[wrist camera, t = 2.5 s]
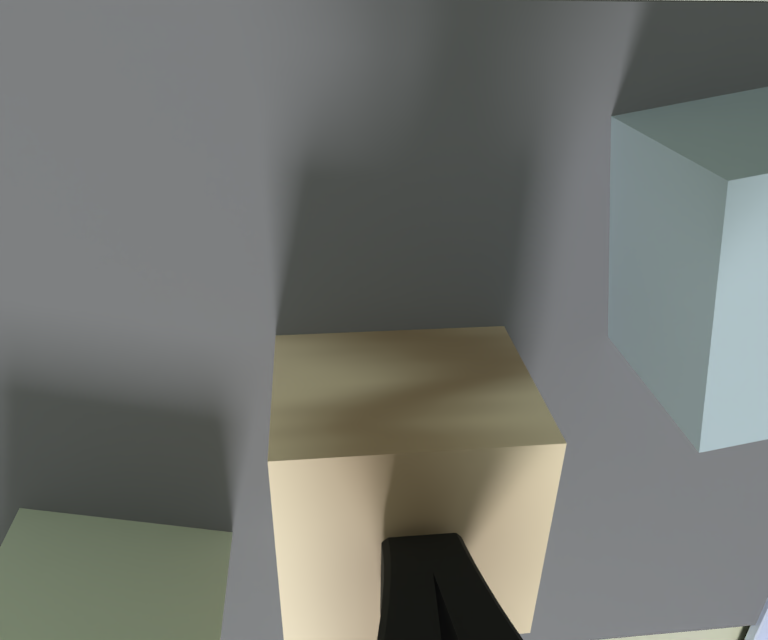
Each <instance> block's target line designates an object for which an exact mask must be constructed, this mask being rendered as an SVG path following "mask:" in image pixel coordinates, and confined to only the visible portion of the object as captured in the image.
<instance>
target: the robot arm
mask: <svg viewBox="0 0 768 640" xmlns="http://www.w3.org/2000/svg"><path fill="white" fill-rule="evenodd" d="M377 640H523V639H522V637H521V636H520V634H519V633H518V631H517V630H516V628H515V627H514V625H513V624H512V622H511V621H510V619H509V618H508V616H507V615H506V613H505V612H504V610H503V609H502V607H501V606H500V604H499V602H498V601H497V599H496V598H495V596H494V594H493V593H492V591H491V589H490V588H489V586H488V584H487V583H486V581H485V580H484V578H483V576H482V574H481V573H480V571H479V569H478V567H477V566H476V564H475V562H474V560H473V558H472V556H471V555H470V553H469V551H468V549H467V547H466V545H465V543H464V541H463V539H462V537H461V536H460V535H458V534H457V533H443V534H429V535H415V536H402V537H388V538H387V539H385V540H384V541H383V542H382V543H381V590H380V623H379V630H378V636H377ZM744 640H768V598H767V600H766V603H765V605H764V607H763V609H762V612H761V614H760V616H759V618H758V621H757V623H756V625H751V626H750V628H749V630H748V632H747V635H746V637H745V639H744Z"/></svg>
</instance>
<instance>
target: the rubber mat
mask: <svg viewBox="0 0 768 640" xmlns="http://www.w3.org/2000/svg"><path fill="white" fill-rule="evenodd" d="M763 87H768V2H764V1H762V2H761V1H760V2H759V1H755V2H754V1H666V0H665V1H663V0H0V546H1V544H2V542H3V540H4V538H5V536H6V534H7V532H8V530H9V528H10V526H11V524H12V522H13V520H14V518H15V516H16V514H17V512H18V510H19V508H24V509H33V510H42V511H51V512H59V513H68V514H77V515H85V516H94V517H103V518H112V519H120V520H129V521H138V522H147V523H155V524H164V525H173V526H182V527H190V528H199V529H208V530H217V531H225V532H233V533H232V542H231V551H230V560H229V568H228V577H227V586H226V594H225V603H224V612H223V620H222V629H221V638H220V640H284V637H283V626H282V615H281V604H280V593H279V582H278V571H277V560H276V549H275V538H274V527H273V516H272V505H271V494H270V483H269V472H268V446H269V431H270V415H271V399H272V383H273V368H274V352H275V336H276V335H299V334H323V333H347V332H371V331H396V330H420V329H444V328H468V327H492V326H504V327H505V329H506V331H507V333H508V334H509V336H510V338H511V340H512V342H513V344H514V346H515V348H516V349H517V351H518V353H519V355H520V357H521V359H522V361H523V363H524V364H525V366H526V368H527V370H528V372H529V374H530V376H531V378H532V379H533V381H534V383H535V385H536V387H537V389H538V391H539V392H540V394H541V396H542V398H543V400H544V402H545V404H546V406H547V407H548V409H549V411H550V413H551V415H552V417H553V419H554V421H555V422H556V424H557V426H558V428H559V430H560V432H561V434H562V436H563V437H564V439H565V441H566V443H567V445H566V450H565V455H564V460H563V465H562V471H561V476H560V481H559V486H558V491H557V496H556V502H555V507H554V512H553V517H552V522H551V527H550V533H549V538H548V543H547V548H546V553H545V558H544V564H543V569H542V574H541V579H540V584H539V590H538V595H537V600H536V605H535V610H534V615H533V621H532V626H531V631H530V633H524V634H520V636H521V637H522V639H523V640H599V639H610V638H621V637H631V636H642V635H653V634H664V633H675V632H686V631H696V630H707V629H718V628H729V627H740V626H750V625H756V623H757V621H758V618H759V616H760V614H761V612H762V609H763V607H764V605H765V603H766V600H767V598H768V439H766V440H761V441H756V442H751V443H746V444H741V445H736V446H731V447H726V448H721V449H716V450H711V451H706V452H701V453H699V452H698V451H697V450H696V448H695V447H694V446H693V444H692V443H691V442H690V441H689V439H688V438H687V437H686V436H685V434H684V433H683V432H682V430H681V429H680V428H679V427H678V425H677V424H676V423H675V422H674V420H673V419H672V418H671V416H670V415H669V414H668V413H667V411H666V410H665V409H664V407H663V406H662V405H661V404H660V402H659V401H658V400H657V399H656V397H655V396H654V395H653V393H652V392H651V391H650V390H649V388H648V387H647V386H646V385H645V383H644V382H643V381H642V379H641V378H640V377H639V376H638V374H637V373H636V372H635V371H634V369H633V368H632V367H631V365H630V364H629V363H628V362H627V360H626V359H625V358H624V356H623V355H622V354H621V353H620V351H619V350H618V349H617V348H616V346H615V345H614V344H613V342H612V341H611V340H610V339H609V337H608V300H609V230H610V160H611V116H615V115H621V114H626V113H631V112H636V111H642V110H647V109H652V108H657V107H663V106H668V105H673V104H679V103H684V102H689V101H694V100H700V99H705V98H710V97H715V96H721V95H726V94H731V93H737V92H742V91H747V90H752V89H758V88H763Z"/></svg>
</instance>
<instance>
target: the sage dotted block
mask: <svg viewBox="0 0 768 640" xmlns="http://www.w3.org/2000/svg"><path fill="white" fill-rule="evenodd" d="M232 533H233V532H225V531H217V530H208V529H199V528H190V527H182V526H173V525H164V524H155V523H147V522H138V521H129V520H120V519H112V518H103V517H94V516H85V515H77V514H68V513H59V512H51V511H42V510H33V509H24V508H19V510H18V512H17V514H16V516H15V518H14V520H13V522H12V524H11V526H10V528H9V530H8V532H7V534H6V536H5V538H4V540H3V542H2V544H1V546H0V640H220V638H221V629H222V620H223V612H224V603H225V594H226V586H227V577H228V568H229V560H230V551H231V542H232Z"/></svg>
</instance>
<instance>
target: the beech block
mask: <svg viewBox="0 0 768 640" xmlns="http://www.w3.org/2000/svg"><path fill="white" fill-rule="evenodd" d="M566 445H567V443H566V441H565V439H564V437H563V436H562V434H561V432H560V430H559V428H558V426H557V424H556V422H555V421H554V419H553V417H552V415H551V413H550V411H549V409H548V407H547V406H546V404H545V402H544V400H543V398H542V396H541V394H540V392H539V391H538V389H537V387H536V385H535V383H534V381H533V379H532V378H531V376H530V374H529V372H528V370H527V368H526V366H525V364H524V363H523V361H522V359H521V357H520V355H519V353H518V351H517V349H516V348H515V346H514V344H513V342H512V340H511V338H510V336H509V334H508V333H507V331H506V329H505V327H504V326H492V327H468V328H444V329H420V330H396V331H371V332H347V333H323V334H299V335H276V336H275V352H274V368H273V383H272V399H271V415H270V431H269V446H268V472H269V483H270V494H271V505H272V516H273V527H274V538H275V549H276V560H277V571H278V582H279V593H280V604H281V615H282V626H283V637H284V640H377V636H378V630H379V623H380V590H381V543H382V542H383V541H384V540H385V539H387V538H388V537H402V536H415V535H429V534H443V533H457V534H458V535H460V536H461V537H462V539H463V541H464V543H465V545H466V547H467V549H468V551H469V553H470V555H471V556H472V558H473V560H474V562H475V564H476V566H477V567H478V569H479V571H480V573H481V574H482V576H483V578H484V580H485V581H486V583H487V584H488V586H489V588H490V589H491V591H492V593H493V594H494V596H495V598H496V599H497V601H498V602H499V604H500V606H501V607H502V609H503V610H504V612H505V613H506V615H507V616H508V618H509V619H510V621H511V622H512V624H513V625H514V627H515V628H516V630H517V631H518V633H519V634H524V633H530V631H531V626H532V621H533V615H534V610H535V605H536V600H537V595H538V590H539V584H540V579H541V574H542V569H543V564H544V558H545V553H546V548H547V543H548V538H549V533H550V527H551V522H552V517H553V512H554V507H555V502H556V496H557V491H558V486H559V481H560V476H561V471H562V465H563V460H564V455H565V450H566Z"/></svg>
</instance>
